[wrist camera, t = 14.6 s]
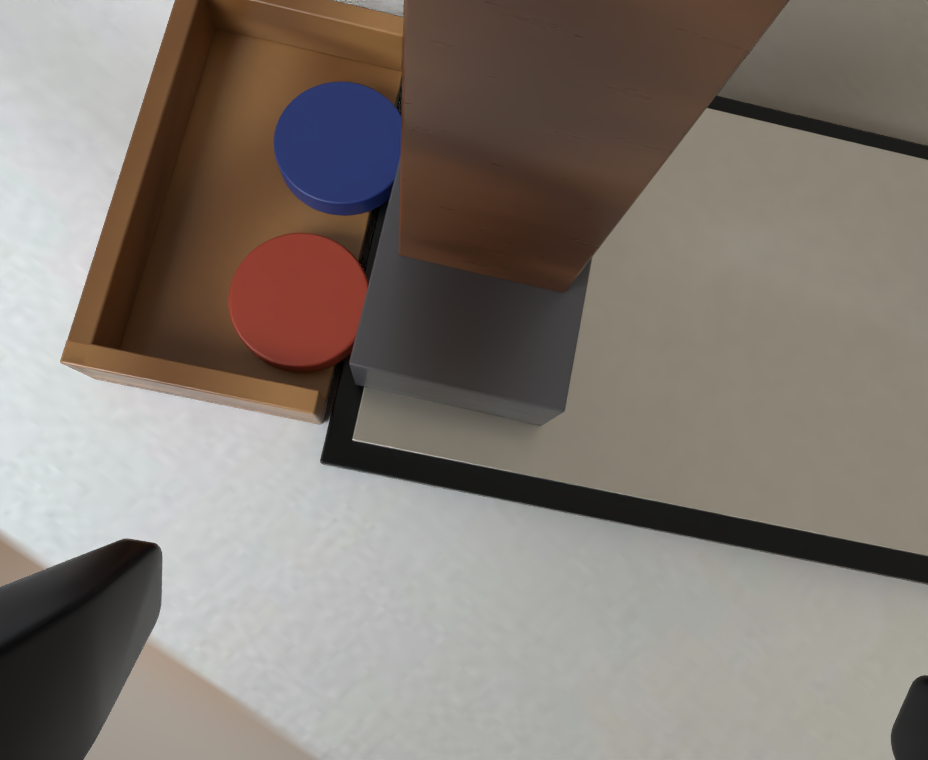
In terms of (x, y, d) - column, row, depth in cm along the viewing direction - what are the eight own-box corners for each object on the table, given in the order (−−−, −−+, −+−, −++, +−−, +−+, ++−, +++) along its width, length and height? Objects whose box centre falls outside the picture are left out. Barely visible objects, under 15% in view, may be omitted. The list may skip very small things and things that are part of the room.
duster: (598, 121, 20) (937, -526, 8) (542, 426, 19) (864, 231, 6) (428, 79, 20) (490, -664, 7) (354, 385, 18) (267, 86, 6)
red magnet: (361, 381, 19) (359, 375, 18) (223, 363, 18) (215, 356, 18) (381, 253, 19) (380, 241, 19) (248, 234, 19) (241, 221, 18)
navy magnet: (382, 234, 19) (380, 223, 19) (258, 189, 19) (251, 176, 19) (427, 123, 20) (427, 107, 19) (308, 80, 20) (303, 62, 19)
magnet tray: (407, 63, 21) (408, 17, 19) (322, 425, 19) (314, 414, 17) (204, 16, 21) (185, -37, 19) (93, 378, 18) (58, 362, 17)
